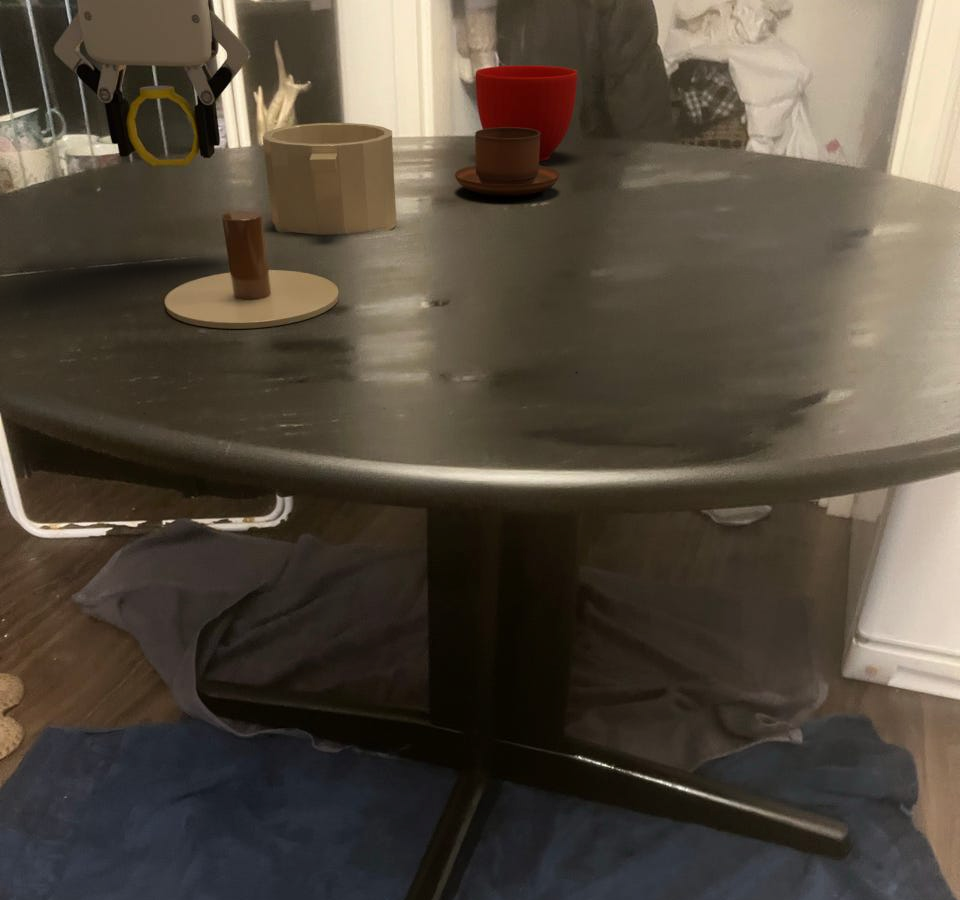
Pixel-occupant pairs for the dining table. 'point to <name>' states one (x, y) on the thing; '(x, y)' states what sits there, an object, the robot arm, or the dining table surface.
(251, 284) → the lid
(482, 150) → the cup and saucer
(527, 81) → the ceramic cup
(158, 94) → the watch
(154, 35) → the robot arm
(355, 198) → the pot
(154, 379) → the dining table surface
